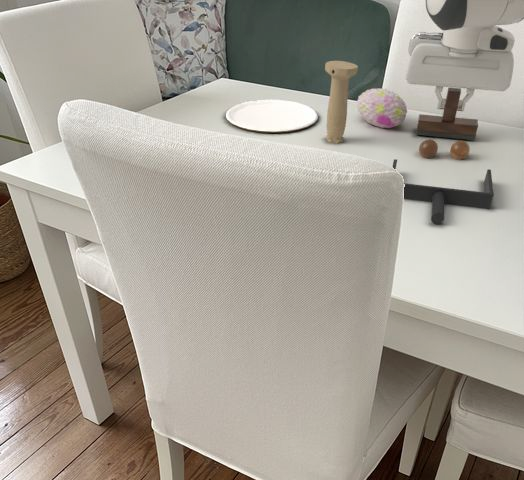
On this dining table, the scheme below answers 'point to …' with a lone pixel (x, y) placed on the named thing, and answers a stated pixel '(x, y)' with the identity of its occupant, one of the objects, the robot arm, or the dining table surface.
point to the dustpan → (449, 196)
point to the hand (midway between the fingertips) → (450, 109)
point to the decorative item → (381, 108)
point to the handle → (338, 98)
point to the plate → (271, 116)
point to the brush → (448, 121)
